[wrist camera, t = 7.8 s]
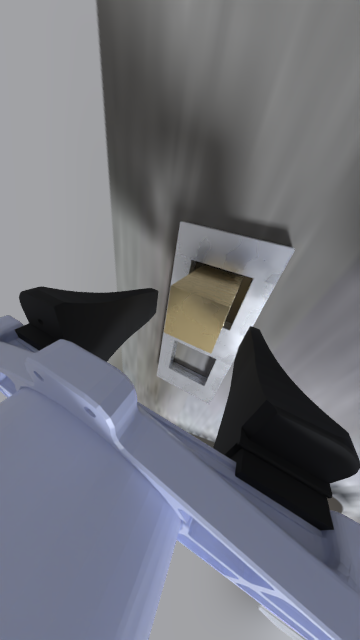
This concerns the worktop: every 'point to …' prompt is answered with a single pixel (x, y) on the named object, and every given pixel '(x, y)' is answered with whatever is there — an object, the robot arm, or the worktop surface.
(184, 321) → the brass peg
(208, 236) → the silver plate with holes
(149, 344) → the worktop surface
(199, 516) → the robot arm
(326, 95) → the worktop surface
